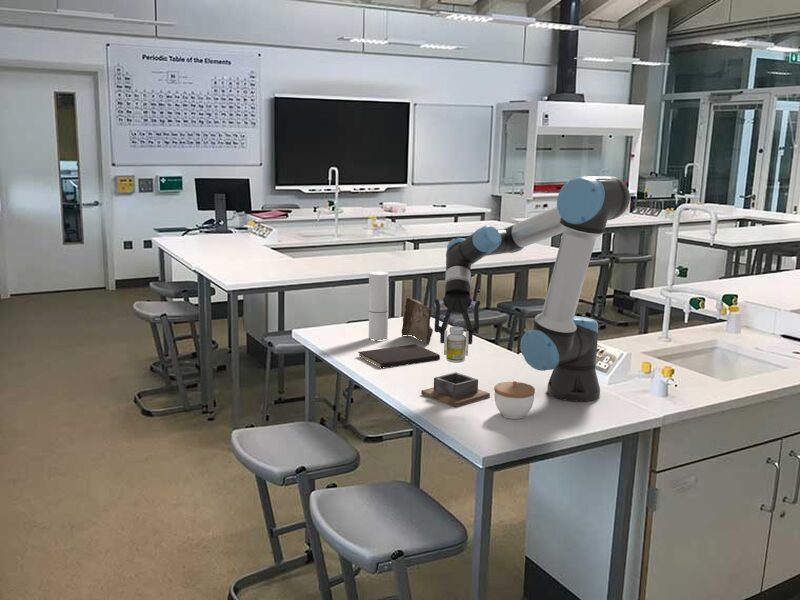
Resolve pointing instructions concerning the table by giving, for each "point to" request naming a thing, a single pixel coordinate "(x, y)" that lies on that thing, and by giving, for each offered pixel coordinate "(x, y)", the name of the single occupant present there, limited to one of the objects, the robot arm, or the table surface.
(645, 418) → the table surface
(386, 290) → the cylindrical container
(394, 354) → the hardcover book
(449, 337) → the supplement bottle
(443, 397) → the wooden square holder
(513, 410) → the lidded jar
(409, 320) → the mineral sample
